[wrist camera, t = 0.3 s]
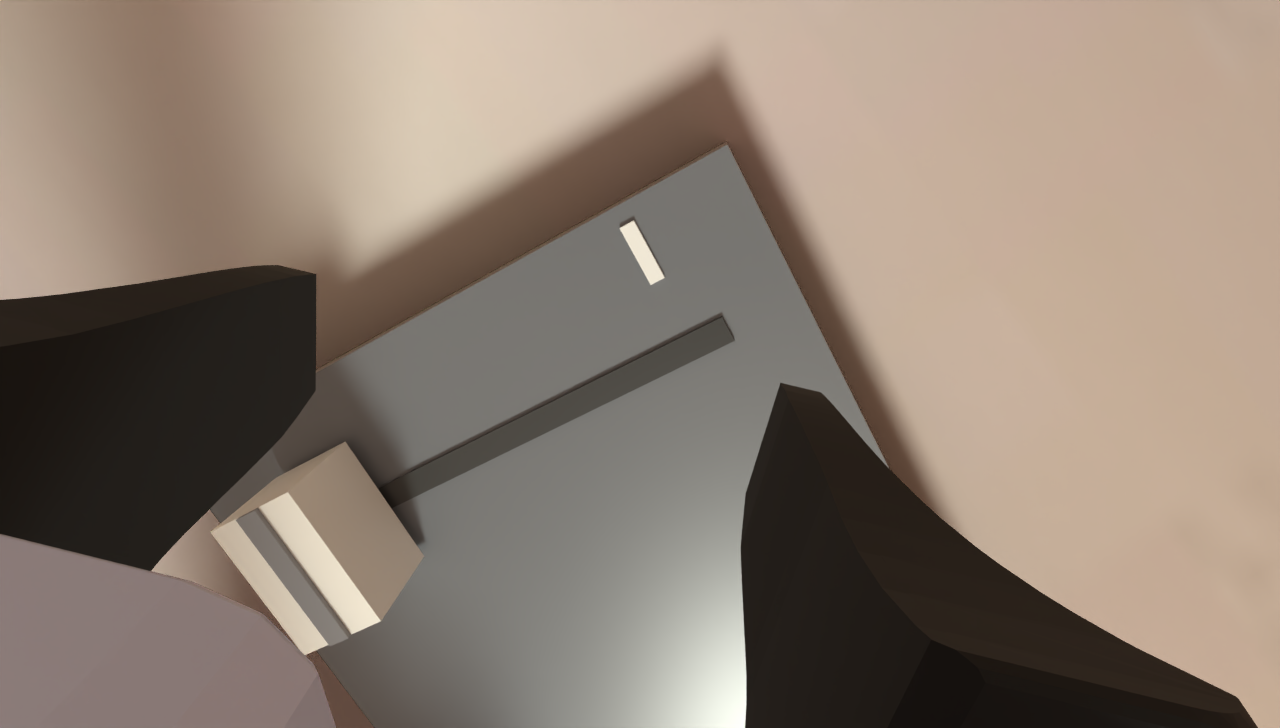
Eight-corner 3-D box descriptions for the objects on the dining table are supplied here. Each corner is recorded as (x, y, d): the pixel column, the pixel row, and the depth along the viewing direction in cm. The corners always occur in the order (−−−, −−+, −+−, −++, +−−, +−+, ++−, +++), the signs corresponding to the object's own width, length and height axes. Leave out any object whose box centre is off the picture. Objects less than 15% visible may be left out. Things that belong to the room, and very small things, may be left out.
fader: (355, 588, 23) (301, 659, 20) (276, 477, 22) (206, 535, 19) (424, 556, 22) (378, 625, 19) (345, 441, 21) (284, 495, 18)
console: (550, 891, 29) (538, 949, 27) (211, 427, 24) (166, 456, 22) (1024, 737, 25) (1050, 792, 23) (726, 141, 20) (727, 144, 18)
